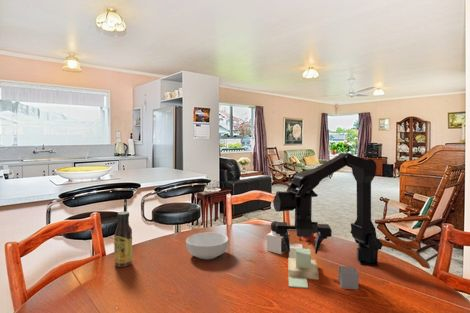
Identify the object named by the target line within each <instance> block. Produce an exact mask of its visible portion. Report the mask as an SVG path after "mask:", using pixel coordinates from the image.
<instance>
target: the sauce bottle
mask: <svg viewBox="0 0 470 313" xmlns="http://www.w3.org/2000/svg"><path fill="white" fill-rule="evenodd" d="M129 218H130V212H129V211H119V212H117V225H116V229H115V233H114V237H113V238H114V242H113V244H114V245H113V246H114V251H113V252H114V256H113V257H114V259H113V260H114V266H116V267H117V268H118V267H119V268H125V267H128V266H130V265H131V264H132V263H133V231H132V230H133V229H132V227H131V225H130V222H129Z"/></svg>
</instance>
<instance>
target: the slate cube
mask: <svg viewBox="0 0 470 313" xmlns="http://www.w3.org/2000/svg"><path fill="white" fill-rule="evenodd" d="M359 276H360V275H359V272H358V270H357V269H356V267H355V266H343V265H339V266H338V282H339V285H340V288H341V289H346V288H347V289H349V290H359Z"/></svg>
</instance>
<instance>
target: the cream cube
mask: <svg viewBox="0 0 470 313" xmlns="http://www.w3.org/2000/svg"><path fill="white" fill-rule="evenodd" d="M289 244H290V252H289V251H288V258H296V248H303V244H302V243H290V242H289Z"/></svg>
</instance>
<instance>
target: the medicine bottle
mask: <svg viewBox="0 0 470 313" xmlns="http://www.w3.org/2000/svg"><path fill="white" fill-rule="evenodd" d="M277 222H282V220H274V221H272V222H270V232H269V233H267V234H266V251H267V252H270V253H275V254H277V255H283V254H285V253H286V252H287V251H288V248H287V245H286V242H285V240H284V238H283V237H282V236H280V234H276V223H277ZM288 236H289V237H290V233H289V232H288Z"/></svg>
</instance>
